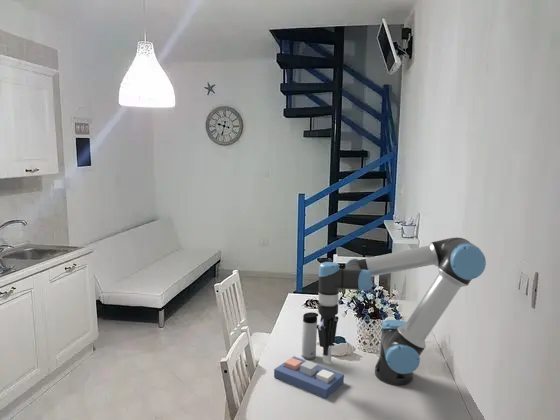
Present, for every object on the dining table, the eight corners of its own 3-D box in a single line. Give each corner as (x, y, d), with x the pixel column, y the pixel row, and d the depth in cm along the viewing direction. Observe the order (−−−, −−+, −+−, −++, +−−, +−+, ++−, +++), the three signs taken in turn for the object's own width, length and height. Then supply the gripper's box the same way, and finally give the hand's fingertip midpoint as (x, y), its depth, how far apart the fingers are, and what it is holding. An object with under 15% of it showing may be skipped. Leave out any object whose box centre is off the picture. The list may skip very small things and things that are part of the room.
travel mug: (315, 360, 187) (317, 316, 185) (300, 358, 188) (302, 315, 186) (317, 354, 193) (319, 311, 191) (302, 352, 195) (304, 310, 192)
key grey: (317, 372, 171) (317, 364, 171) (310, 377, 167) (311, 369, 167) (306, 368, 174) (307, 360, 174) (300, 373, 170) (300, 365, 170)
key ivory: (333, 381, 167) (334, 373, 167) (327, 387, 163) (327, 378, 163) (322, 377, 170) (323, 369, 170) (316, 382, 166) (316, 374, 166)
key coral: (301, 369, 176) (301, 361, 175) (294, 374, 172) (295, 366, 171) (291, 365, 179) (291, 357, 178) (284, 370, 175) (284, 362, 174)
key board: (343, 382, 170) (343, 374, 169) (325, 398, 159) (326, 389, 158) (293, 364, 184) (293, 356, 183) (274, 377, 173) (274, 369, 172)
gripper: (328, 296, 170) (327, 352, 173) (310, 305, 159) (309, 365, 162) (345, 300, 165) (343, 358, 168) (328, 310, 155) (326, 371, 158)
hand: (327, 361), depth 165 cm, fingers closed
